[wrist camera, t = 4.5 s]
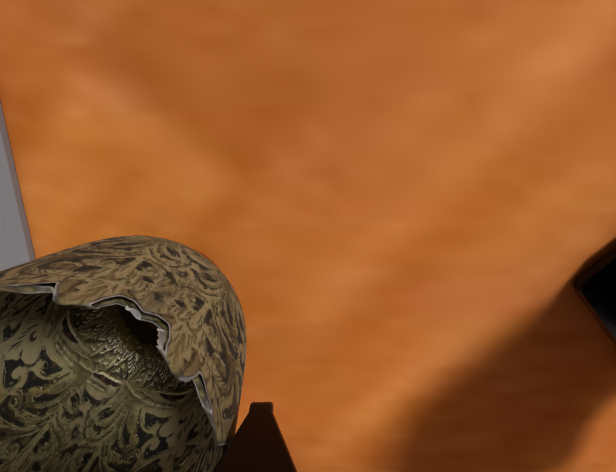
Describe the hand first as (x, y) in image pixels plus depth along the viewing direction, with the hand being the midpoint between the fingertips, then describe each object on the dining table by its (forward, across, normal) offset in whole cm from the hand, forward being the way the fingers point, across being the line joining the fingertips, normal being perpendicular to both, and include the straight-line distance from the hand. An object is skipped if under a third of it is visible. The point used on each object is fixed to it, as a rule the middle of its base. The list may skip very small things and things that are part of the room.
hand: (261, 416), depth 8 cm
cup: (+7, +3, 0) cm, 8 cm away
